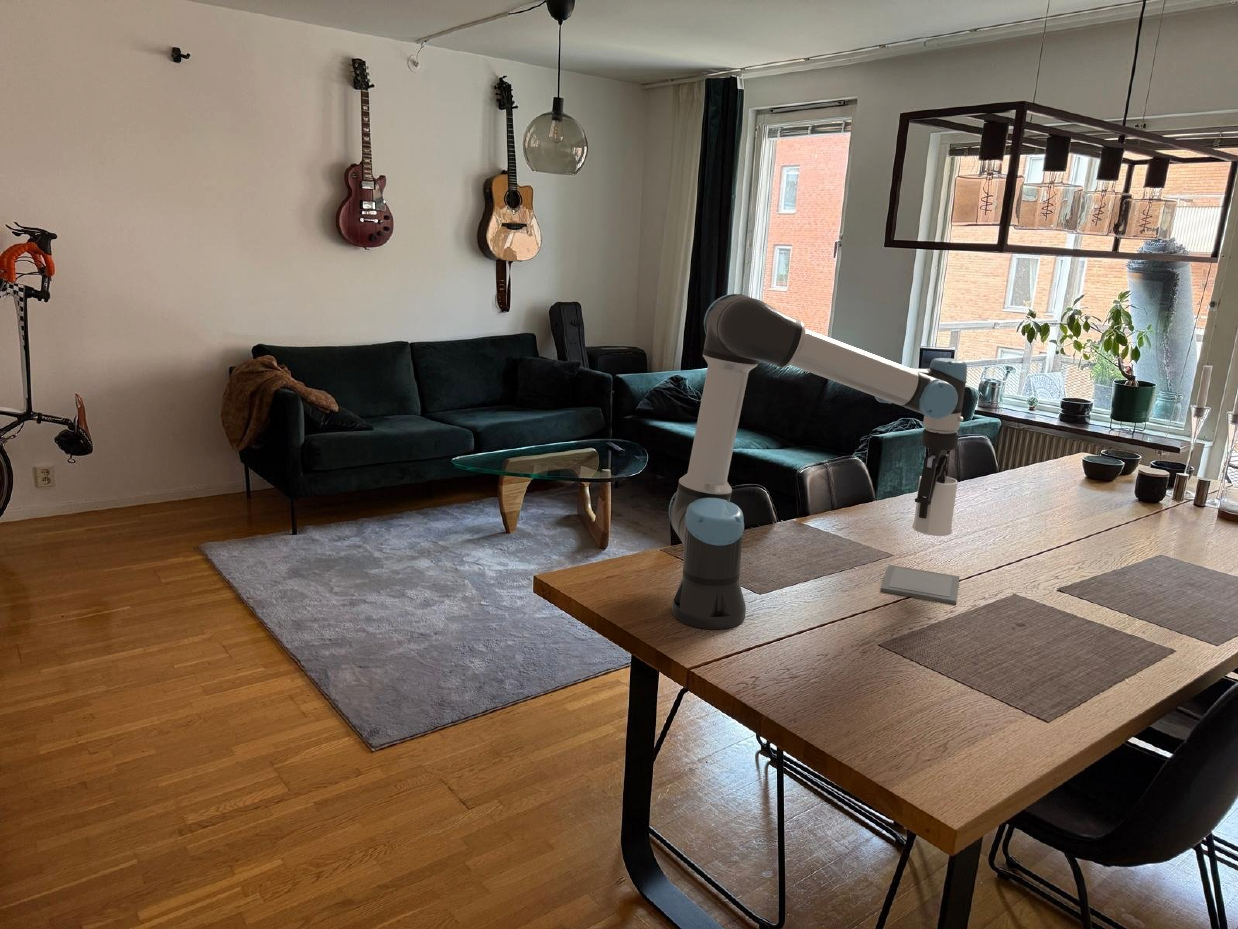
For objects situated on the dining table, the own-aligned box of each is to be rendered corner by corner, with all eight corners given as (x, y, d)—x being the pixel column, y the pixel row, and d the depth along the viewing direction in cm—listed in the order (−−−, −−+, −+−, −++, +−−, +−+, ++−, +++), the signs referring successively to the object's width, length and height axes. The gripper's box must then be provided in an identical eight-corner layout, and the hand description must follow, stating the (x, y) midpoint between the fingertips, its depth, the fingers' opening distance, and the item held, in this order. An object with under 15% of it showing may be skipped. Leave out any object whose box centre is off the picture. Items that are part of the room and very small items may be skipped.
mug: (929, 541, 193) (936, 488, 190) (896, 530, 199) (902, 479, 196) (959, 531, 200) (966, 480, 197) (926, 521, 207) (932, 472, 204)
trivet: (956, 604, 193) (956, 600, 193) (880, 591, 199) (880, 587, 199) (959, 579, 207) (959, 576, 207) (888, 567, 213) (888, 564, 213)
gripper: (945, 441, 182) (932, 542, 188) (970, 423, 201) (957, 514, 207) (908, 436, 186) (897, 534, 191) (936, 418, 205) (925, 508, 211)
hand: (928, 524), depth 199 cm, fingers closed on mug, 11 cm apart
